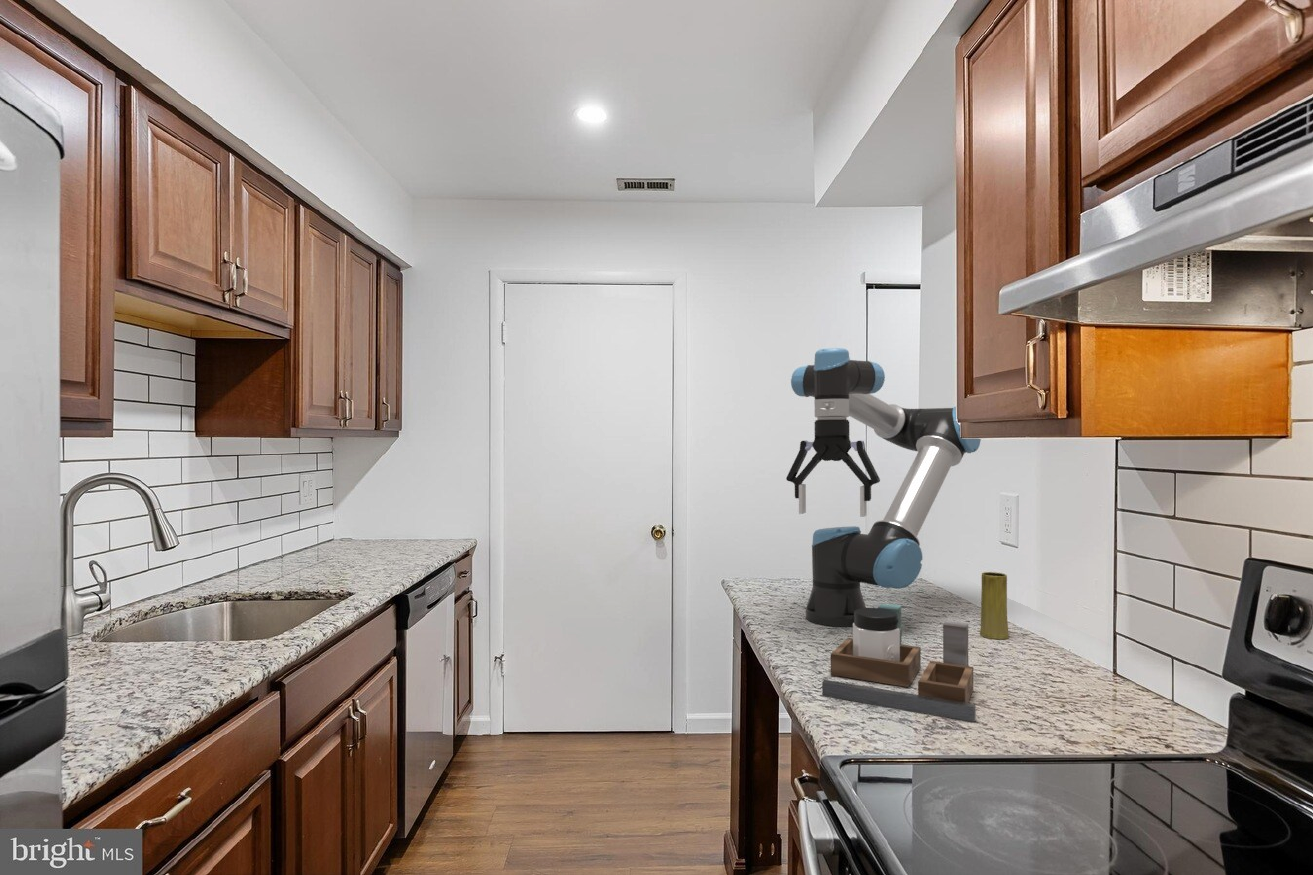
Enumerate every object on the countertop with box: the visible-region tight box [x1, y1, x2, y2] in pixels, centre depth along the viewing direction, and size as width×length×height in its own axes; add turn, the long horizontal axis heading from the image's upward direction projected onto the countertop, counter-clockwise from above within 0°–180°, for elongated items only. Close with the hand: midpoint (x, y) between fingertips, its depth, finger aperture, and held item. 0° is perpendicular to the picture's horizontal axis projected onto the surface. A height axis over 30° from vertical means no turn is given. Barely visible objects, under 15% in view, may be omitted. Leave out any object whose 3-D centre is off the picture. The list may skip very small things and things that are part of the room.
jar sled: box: [830, 603, 922, 688], centre depth 146 cm, size 21×14×10 cm
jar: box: [852, 607, 900, 662], centre depth 141 cm, size 9×8×12 cm
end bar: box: [821, 679, 977, 723], centre depth 124 cm, size 2×25×2 cm, turn 61°
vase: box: [979, 571, 1010, 640], centre depth 168 cm, size 6×6×14 cm
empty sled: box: [917, 619, 974, 703], centre depth 132 cm, size 21×7×10 cm, turn 151°
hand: (832, 514), depth 162 cm, fingers open, 13 cm apart
